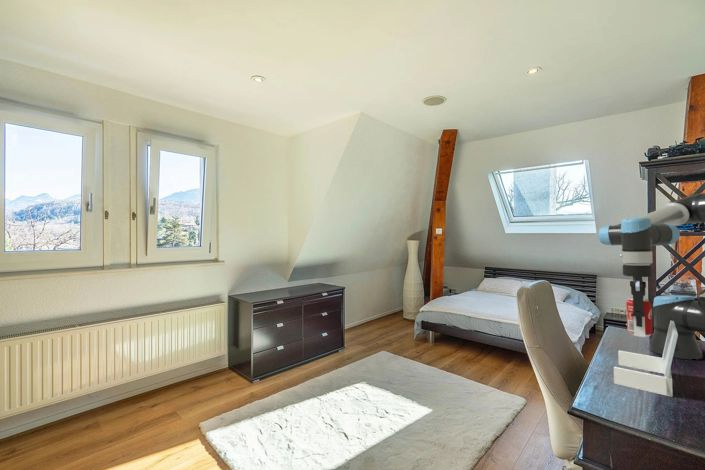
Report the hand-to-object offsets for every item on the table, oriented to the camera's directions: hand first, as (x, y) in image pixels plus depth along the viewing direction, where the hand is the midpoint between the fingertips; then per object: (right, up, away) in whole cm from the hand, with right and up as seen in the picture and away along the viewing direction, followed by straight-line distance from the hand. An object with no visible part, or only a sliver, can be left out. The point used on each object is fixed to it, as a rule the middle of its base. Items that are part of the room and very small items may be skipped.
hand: (639, 333), depth 106 cm
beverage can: (0, -1, 0) cm, 1 cm away
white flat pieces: (0, -15, 0) cm, 15 cm away
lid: (+5, -3, -5) cm, 7 cm away
